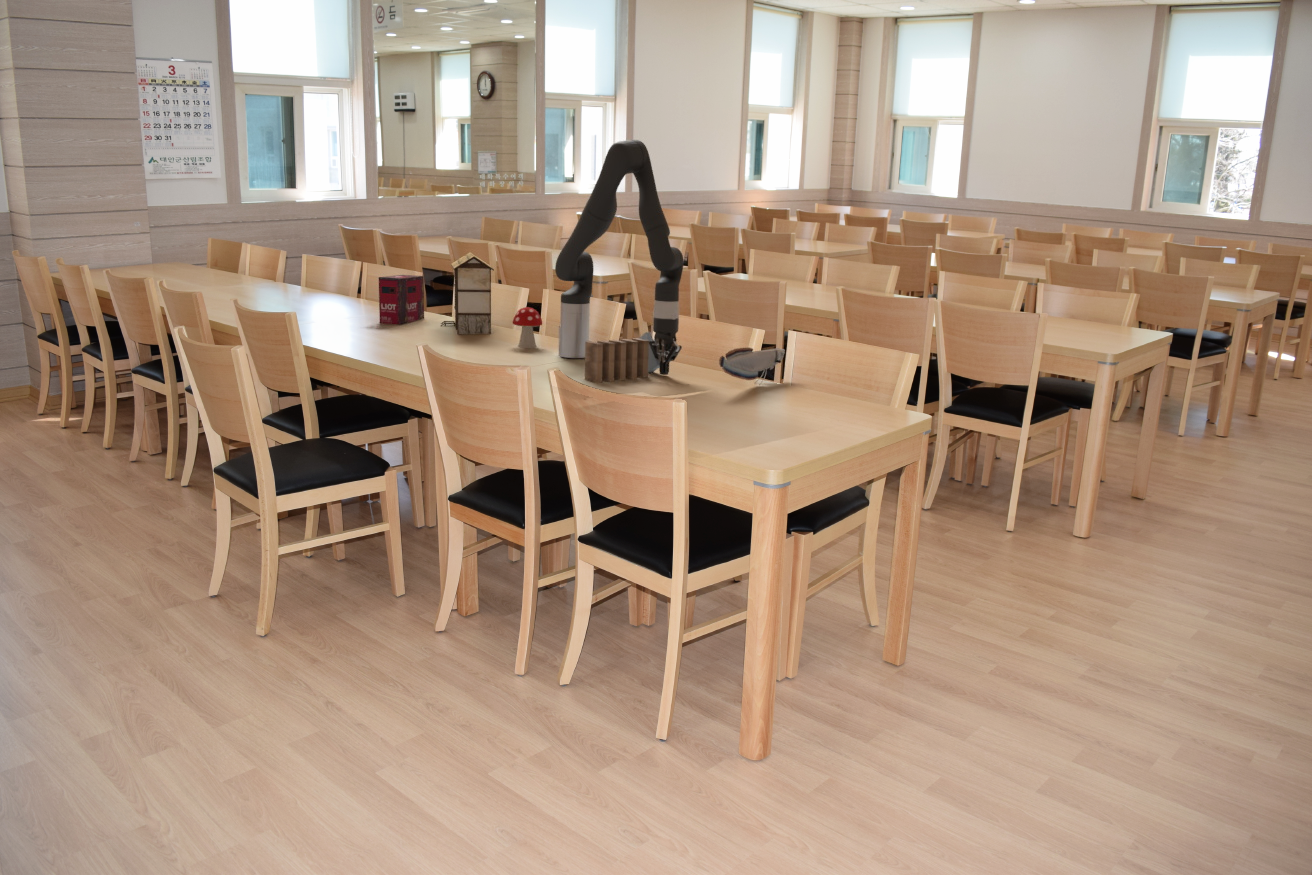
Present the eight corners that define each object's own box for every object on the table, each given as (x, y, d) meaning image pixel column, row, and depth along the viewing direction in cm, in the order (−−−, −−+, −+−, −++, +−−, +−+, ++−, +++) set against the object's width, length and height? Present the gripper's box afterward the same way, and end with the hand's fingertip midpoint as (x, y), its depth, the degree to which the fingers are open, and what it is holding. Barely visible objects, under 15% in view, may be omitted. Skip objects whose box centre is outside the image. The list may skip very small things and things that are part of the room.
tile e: (584, 379, 291) (585, 341, 288) (589, 378, 292) (590, 341, 289) (596, 382, 286) (597, 344, 284) (601, 382, 287) (602, 344, 285)
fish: (722, 395, 275) (725, 352, 272) (704, 391, 279) (706, 349, 276) (794, 382, 299) (797, 342, 296) (776, 378, 303) (778, 340, 300)
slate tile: (646, 374, 304) (635, 341, 306) (651, 373, 305) (639, 341, 308) (657, 365, 299) (645, 332, 302) (662, 364, 300) (650, 332, 303)
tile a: (630, 374, 301) (631, 338, 299) (635, 374, 302) (636, 338, 300) (643, 378, 297) (644, 341, 294) (647, 377, 298) (649, 340, 295)
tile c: (608, 377, 296) (609, 340, 293) (612, 376, 297) (613, 339, 295) (620, 380, 291) (621, 342, 289) (625, 379, 293) (626, 342, 290)
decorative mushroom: (544, 351, 342) (544, 306, 338) (539, 354, 333) (539, 309, 330) (515, 349, 342) (515, 305, 339) (509, 353, 334) (509, 308, 331)
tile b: (619, 376, 299) (620, 339, 296) (624, 375, 300) (625, 338, 297) (631, 379, 294) (632, 341, 292) (636, 378, 295) (637, 341, 293)
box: (404, 326, 390) (403, 274, 385) (424, 328, 387) (423, 276, 383) (379, 331, 375) (378, 277, 370) (400, 333, 372) (399, 278, 367)
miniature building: (494, 342, 358) (493, 256, 352) (440, 341, 354) (438, 255, 347) (488, 332, 382) (488, 252, 375) (438, 332, 378) (437, 251, 371)
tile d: (596, 378, 293) (597, 340, 291) (601, 377, 294) (602, 340, 292) (608, 381, 289) (609, 343, 286) (613, 381, 290) (614, 343, 287)
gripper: (642, 314, 298) (640, 372, 302) (670, 319, 288) (668, 378, 292) (661, 313, 302) (659, 370, 306) (690, 318, 292) (688, 376, 296)
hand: (664, 374), depth 299 cm, fingers closed
